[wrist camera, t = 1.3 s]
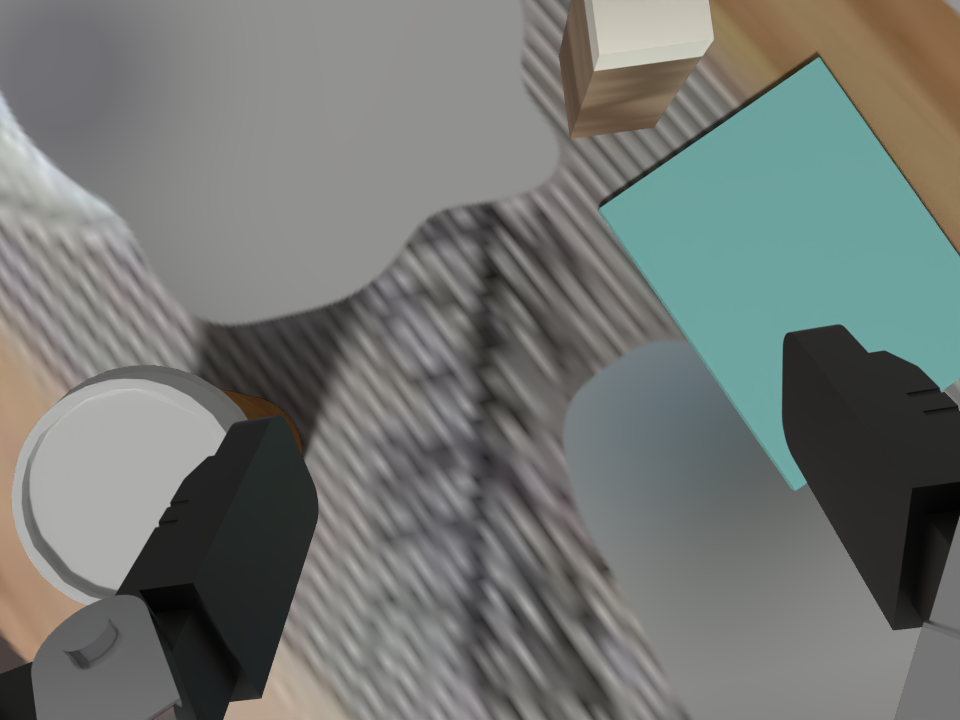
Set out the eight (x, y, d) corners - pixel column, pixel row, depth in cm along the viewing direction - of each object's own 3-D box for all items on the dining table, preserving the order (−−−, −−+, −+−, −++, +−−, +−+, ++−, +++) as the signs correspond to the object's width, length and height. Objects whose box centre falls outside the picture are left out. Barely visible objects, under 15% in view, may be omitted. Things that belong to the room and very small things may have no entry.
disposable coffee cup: (281, 574, 37) (181, 673, 25) (125, 491, 37) (-48, 549, 25) (364, 417, 37) (303, 441, 25) (207, 334, 37) (74, 318, 25)
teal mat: (597, 210, 37) (599, 208, 37) (814, 61, 37) (819, 56, 37) (791, 489, 37) (795, 490, 36) (1010, 339, 37) (1017, 338, 36)
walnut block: (570, 138, 37) (599, 54, 27) (558, 55, 37) (584, -59, 27) (653, 127, 37) (713, 39, 27) (642, 44, 37) (698, -74, 27)
